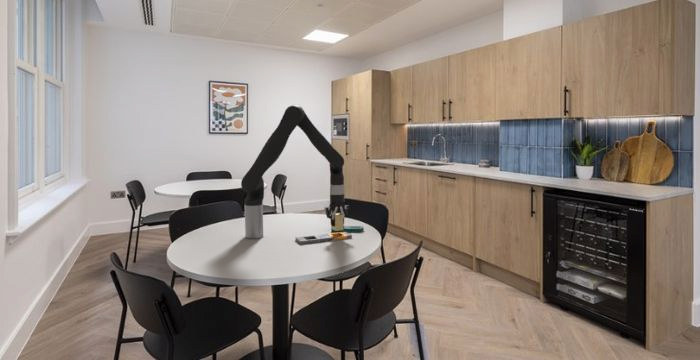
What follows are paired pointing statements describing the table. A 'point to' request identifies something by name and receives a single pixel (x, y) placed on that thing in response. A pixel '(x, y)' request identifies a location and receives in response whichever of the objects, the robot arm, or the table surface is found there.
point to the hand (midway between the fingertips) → (337, 225)
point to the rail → (323, 237)
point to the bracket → (350, 229)
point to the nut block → (338, 222)
